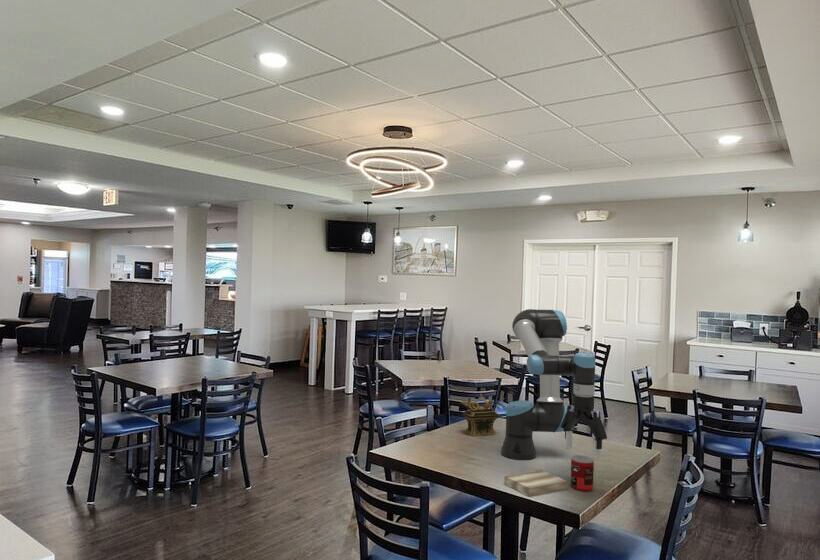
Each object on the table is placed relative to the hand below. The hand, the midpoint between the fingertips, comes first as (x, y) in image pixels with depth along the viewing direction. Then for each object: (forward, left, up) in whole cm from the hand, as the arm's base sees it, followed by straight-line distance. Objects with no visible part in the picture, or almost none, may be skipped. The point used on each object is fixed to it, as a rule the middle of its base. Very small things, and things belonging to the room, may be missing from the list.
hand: (582, 453), depth 206 cm
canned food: (0, 0, -13) cm, 13 cm away
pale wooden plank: (-8, -15, -13) cm, 21 cm away
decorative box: (-79, +11, -13) cm, 81 cm away
